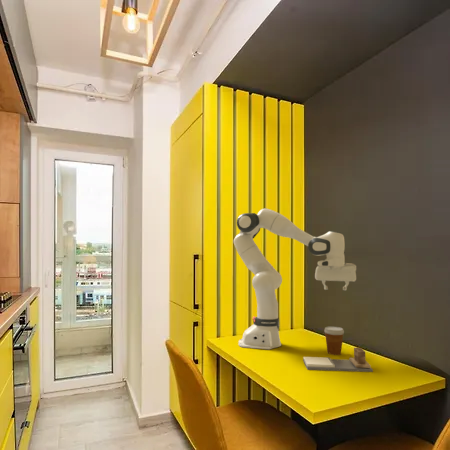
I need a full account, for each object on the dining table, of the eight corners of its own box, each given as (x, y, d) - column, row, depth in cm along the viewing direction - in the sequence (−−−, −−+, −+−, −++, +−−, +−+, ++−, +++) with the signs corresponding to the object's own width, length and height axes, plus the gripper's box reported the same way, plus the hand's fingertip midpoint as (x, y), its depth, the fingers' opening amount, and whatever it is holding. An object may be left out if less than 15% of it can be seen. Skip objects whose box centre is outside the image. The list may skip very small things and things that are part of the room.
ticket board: (307, 369, 151) (307, 364, 151) (303, 360, 163) (303, 355, 163) (372, 371, 149) (372, 366, 149) (363, 362, 161) (363, 357, 161)
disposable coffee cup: (322, 354, 172) (322, 329, 173) (326, 349, 181) (326, 325, 182) (342, 357, 168) (342, 331, 169) (345, 352, 176) (345, 327, 177)
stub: (356, 367, 150) (355, 352, 151) (349, 359, 160) (349, 346, 161) (370, 367, 150) (370, 353, 150) (363, 360, 160) (362, 346, 160)
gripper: (354, 262, 185) (354, 289, 184) (314, 261, 186) (314, 288, 186) (358, 263, 178) (357, 291, 178) (316, 262, 180) (316, 289, 179)
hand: (335, 289), depth 182 cm, fingers open, 8 cm apart
